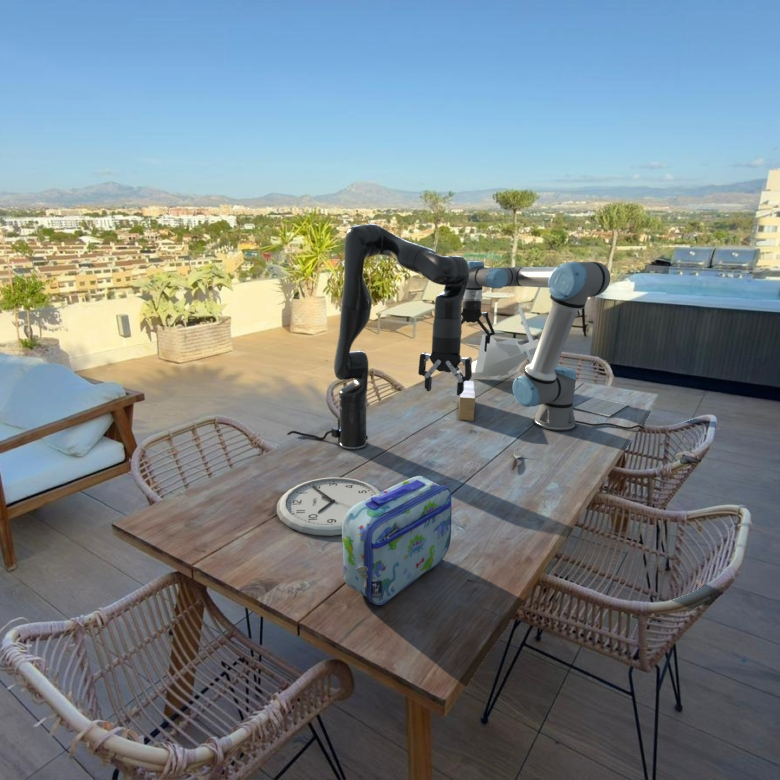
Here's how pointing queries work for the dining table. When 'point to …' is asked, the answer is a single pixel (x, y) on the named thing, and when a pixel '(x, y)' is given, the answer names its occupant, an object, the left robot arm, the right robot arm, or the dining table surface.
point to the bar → (467, 402)
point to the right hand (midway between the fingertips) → (469, 350)
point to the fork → (516, 457)
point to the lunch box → (395, 537)
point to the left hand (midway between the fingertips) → (443, 392)
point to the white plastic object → (503, 354)
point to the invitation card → (601, 406)
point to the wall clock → (322, 504)
